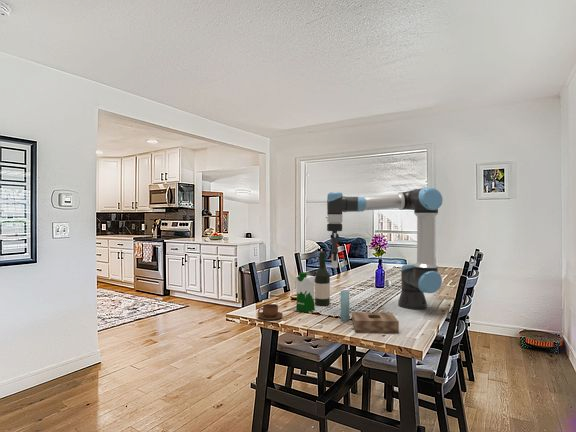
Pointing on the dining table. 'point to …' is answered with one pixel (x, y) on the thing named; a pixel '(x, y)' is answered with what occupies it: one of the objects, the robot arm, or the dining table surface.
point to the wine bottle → (322, 283)
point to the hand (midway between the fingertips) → (334, 265)
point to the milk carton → (305, 292)
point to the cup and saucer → (270, 312)
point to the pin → (344, 305)
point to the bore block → (375, 322)
